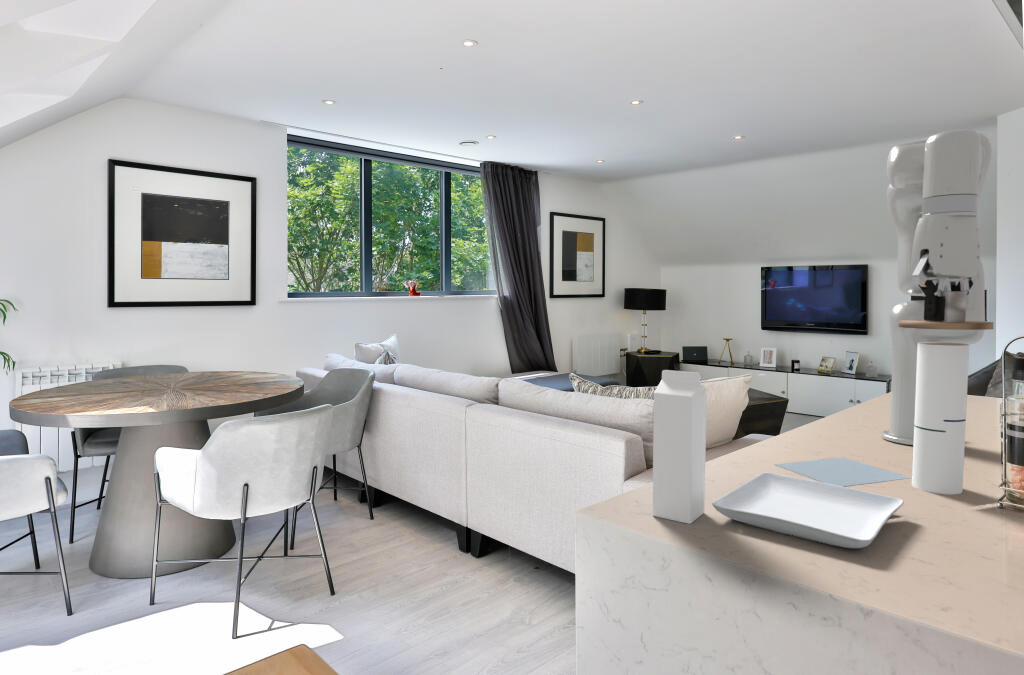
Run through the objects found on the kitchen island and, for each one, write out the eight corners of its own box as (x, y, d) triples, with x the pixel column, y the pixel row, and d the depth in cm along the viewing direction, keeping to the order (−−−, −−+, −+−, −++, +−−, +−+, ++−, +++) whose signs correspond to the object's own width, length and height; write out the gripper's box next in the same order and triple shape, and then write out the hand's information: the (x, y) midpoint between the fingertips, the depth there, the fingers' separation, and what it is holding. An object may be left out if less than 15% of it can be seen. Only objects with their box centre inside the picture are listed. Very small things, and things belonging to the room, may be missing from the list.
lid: (936, 325, 113) (937, 291, 113) (1013, 328, 101) (1015, 291, 100) (880, 326, 109) (881, 291, 109) (953, 330, 97) (955, 291, 96)
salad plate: (869, 565, 79) (870, 538, 78) (708, 524, 93) (708, 501, 93) (905, 519, 94) (906, 497, 94) (762, 490, 109) (763, 470, 108)
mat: (843, 459, 127) (843, 457, 127) (911, 480, 113) (911, 477, 112) (774, 467, 121) (774, 464, 121) (836, 490, 107) (836, 487, 107)
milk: (667, 505, 100) (669, 367, 99) (705, 513, 96) (707, 370, 95) (651, 516, 95) (653, 371, 94) (690, 524, 92) (692, 374, 90)
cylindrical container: (970, 498, 103) (978, 345, 101) (922, 495, 104) (928, 345, 102) (949, 485, 110) (956, 342, 108) (904, 482, 111) (910, 341, 109)
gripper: (963, 214, 110) (958, 319, 111) (890, 210, 105) (886, 320, 106) (1009, 208, 103) (1003, 320, 104) (933, 203, 97) (928, 322, 99)
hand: (944, 319), depth 105 cm, fingers closed on lid, 4 cm apart
